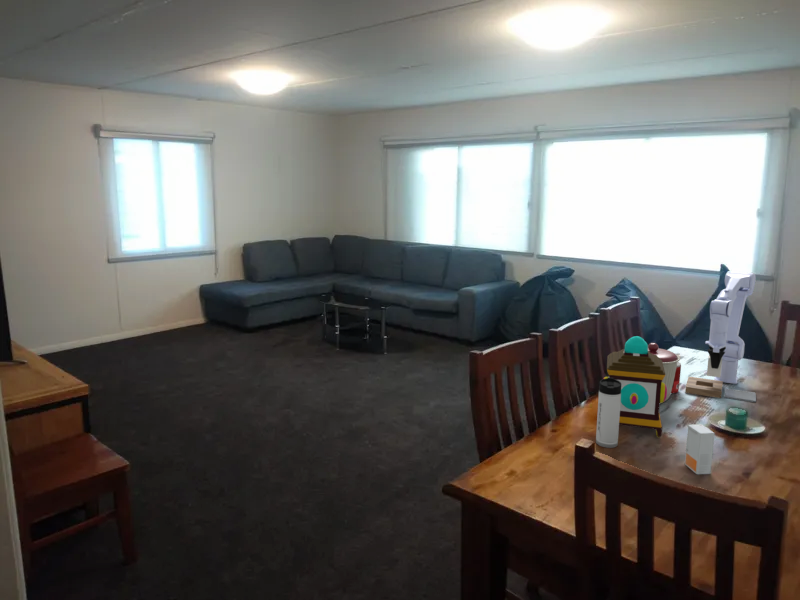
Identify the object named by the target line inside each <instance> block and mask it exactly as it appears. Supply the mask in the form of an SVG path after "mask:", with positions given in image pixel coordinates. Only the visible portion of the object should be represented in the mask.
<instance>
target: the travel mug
mask: <svg viewBox="0 0 800 600" xmlns="http://www.w3.org/2000/svg"><path fill="white" fill-rule="evenodd" d="M598 387H599V389H598V397H597V398H598V401H597V402H598V403H597V416H596V417H597V418H596V419H597V420H596V431H595V432H596V433H595V443H596V444H597V445H598V446H599V447H602V448H605V449H606V448H607V449H613V448H616V447H617V446H619V445H618V444H619V443H618V442H619V433H620V431H619V429H620V425H619V417H620V402H621V382H620V381H618V380H615V379H613V378H608V379H603V378H602V379H601V380H599V385H598Z"/></svg>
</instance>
